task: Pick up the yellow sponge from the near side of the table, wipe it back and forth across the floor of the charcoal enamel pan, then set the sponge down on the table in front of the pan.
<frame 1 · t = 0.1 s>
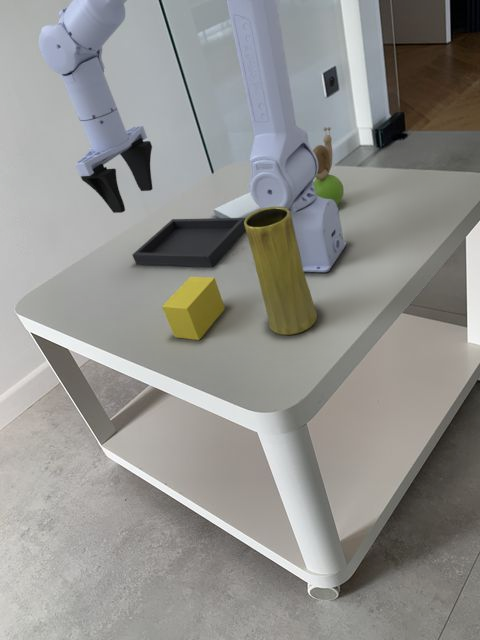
hand: (133, 200, 89), 10 cm above the table, tool pointing down, fingers open, 7 cm apart
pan: (192, 246, 94), on the table
snail figurine: (331, 206, 93), on the table
sponge: (200, 322, 74), on the table
vase: (293, 322, 69), on the table
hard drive: (254, 208, 101), on the table
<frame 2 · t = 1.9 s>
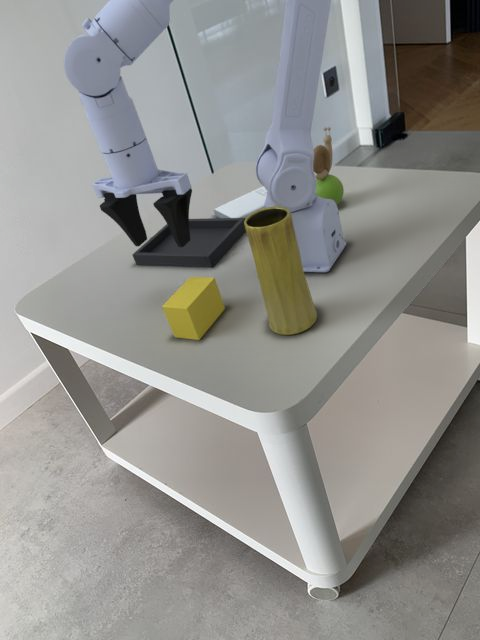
hand: (162, 243, 75), 9 cm above the table, tool pointing down, fingers open, 7 cm apart
nothing on the table moved.
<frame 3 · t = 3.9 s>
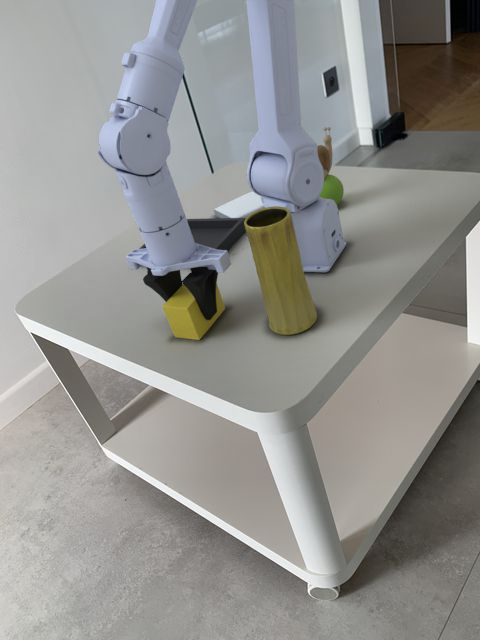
hand: (197, 314, 73), 1 cm above the table, tool pointing down, fingers closed on sponge, 4 cm apart
sponge: (200, 322, 74), on the table, touching gripper
everything else where it was.
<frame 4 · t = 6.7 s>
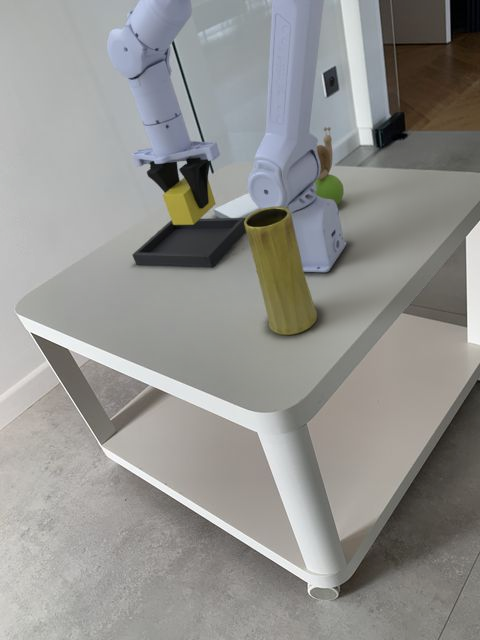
hand: (192, 206, 87), 8 cm above the table, tool pointing down, fingers closed on sponge, 4 cm apart
sponge: (194, 214, 88), point 6 cm above the table, touching gripper
everything else where it was.
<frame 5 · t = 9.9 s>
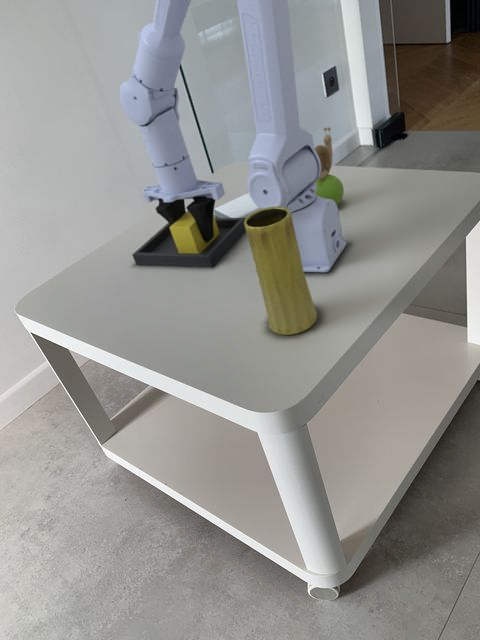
hand: (198, 239, 92), 1 cm above the table, tool pointing down, fingers closed on sponge, 4 cm apart
sponge: (199, 244, 93), point 1 cm above the table, touching gripper
everything else where it was.
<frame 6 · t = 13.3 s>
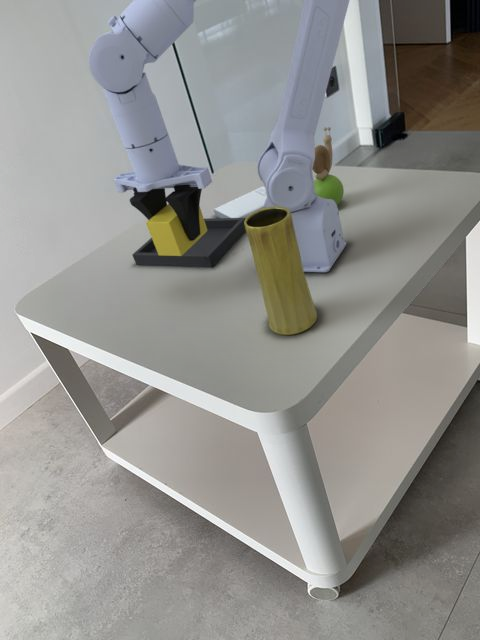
hand: (181, 237, 77), 8 cm above the table, tool pointing down, fingers closed on sponge, 4 cm apart
sponge: (183, 243, 77), point 7 cm above the table, touching gripper
everything else where it was.
when the fingers open (1 cm above the table, at t = 16.1 s): sponge stays where it is, on the table.
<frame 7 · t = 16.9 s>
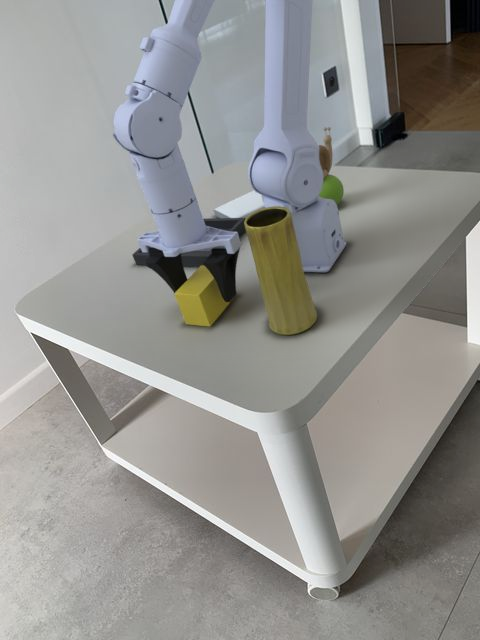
hand: (207, 296, 75), 2 cm above the table, tool pointing down, fingers open, 7 cm apart
sponge: (211, 310, 76), on the table
everything else where it was.
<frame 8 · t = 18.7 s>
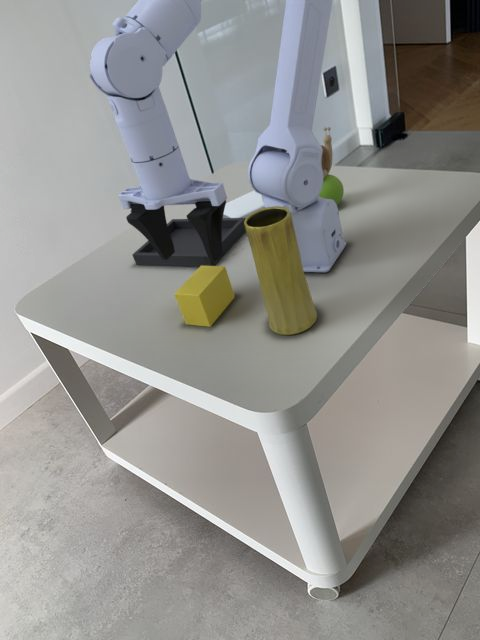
hand: (192, 256, 71), 8 cm above the table, tool pointing down, fingers open, 7 cm apart
nothing on the table moved.
at the end: sponge 0.1 cm from the target spot on the table beside the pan, on the table; sponge tilted 0°; the gripper is holding nothing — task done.
